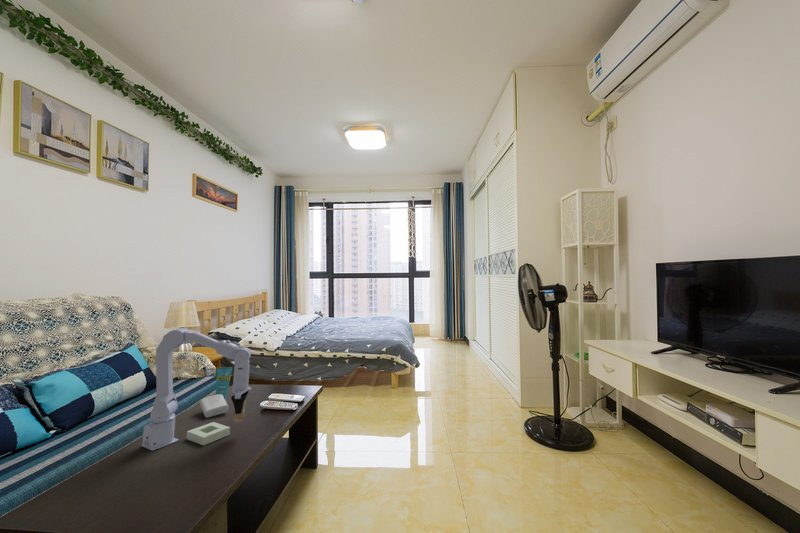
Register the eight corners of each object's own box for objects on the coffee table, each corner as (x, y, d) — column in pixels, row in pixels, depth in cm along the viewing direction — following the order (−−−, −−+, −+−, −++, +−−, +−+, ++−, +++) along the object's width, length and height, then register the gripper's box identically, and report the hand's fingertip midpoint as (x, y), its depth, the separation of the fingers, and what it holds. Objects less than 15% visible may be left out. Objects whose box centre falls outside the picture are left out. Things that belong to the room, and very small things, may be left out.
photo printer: (228, 412, 159) (221, 398, 168) (229, 404, 158) (221, 391, 167) (204, 419, 152) (198, 405, 161) (205, 411, 151) (198, 397, 160)
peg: (237, 422, 132) (239, 399, 133) (231, 420, 134) (232, 398, 135) (246, 419, 136) (247, 397, 136) (239, 417, 138) (241, 395, 138)
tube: (212, 408, 164) (217, 368, 167) (211, 405, 168) (216, 367, 171) (228, 406, 168) (233, 367, 171) (227, 404, 172) (231, 366, 175)
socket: (203, 445, 126) (203, 437, 126) (186, 439, 131) (187, 431, 131) (229, 434, 136) (230, 427, 136) (212, 429, 141) (213, 421, 141)
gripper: (249, 381, 130) (247, 417, 129) (253, 372, 144) (252, 404, 143) (229, 382, 128) (227, 418, 127) (236, 373, 142) (234, 406, 141)
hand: (239, 411), depth 135 cm, fingers closed on peg, 4 cm apart
